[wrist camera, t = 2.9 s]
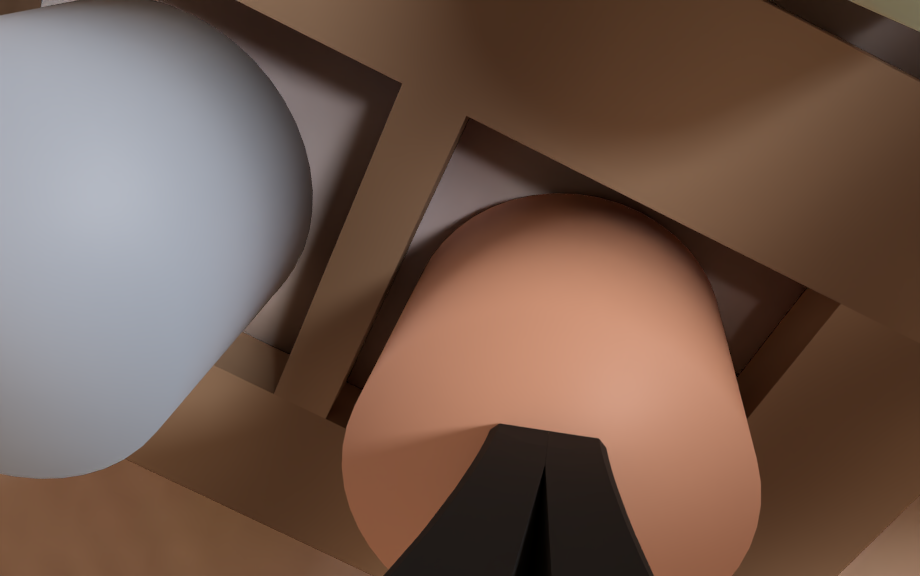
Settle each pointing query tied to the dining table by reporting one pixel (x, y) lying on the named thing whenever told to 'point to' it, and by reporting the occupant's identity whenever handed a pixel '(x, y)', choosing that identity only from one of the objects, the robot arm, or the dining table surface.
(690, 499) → the peach rounded cylinder
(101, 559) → the dining table surface
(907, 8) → the sage puck
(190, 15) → the grey short rounded cylinder
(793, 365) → the brown compartment tray
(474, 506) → the robot arm
